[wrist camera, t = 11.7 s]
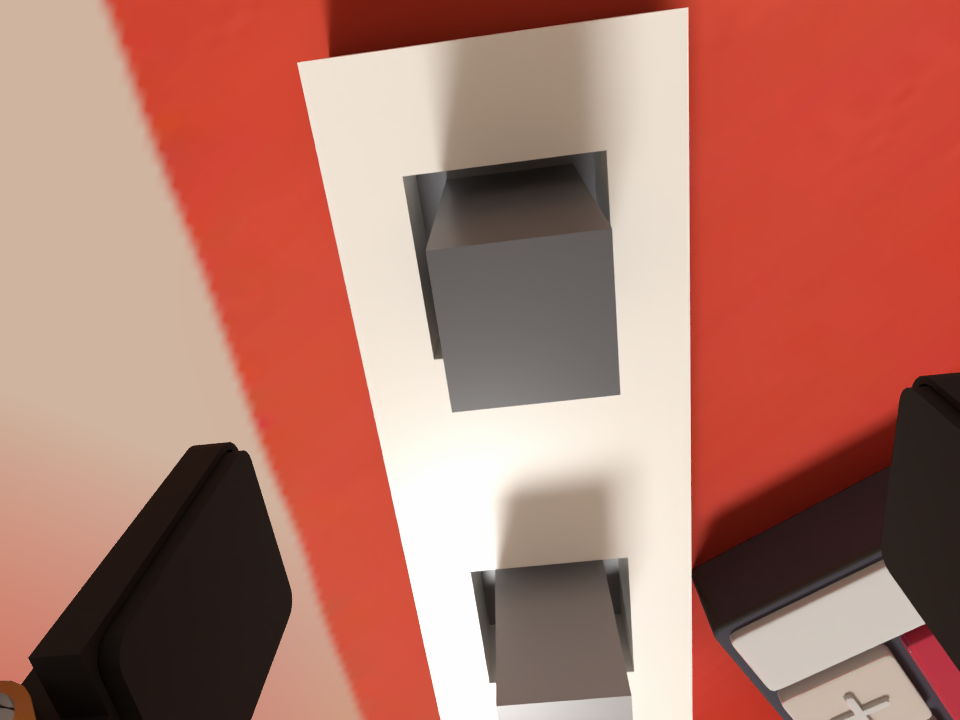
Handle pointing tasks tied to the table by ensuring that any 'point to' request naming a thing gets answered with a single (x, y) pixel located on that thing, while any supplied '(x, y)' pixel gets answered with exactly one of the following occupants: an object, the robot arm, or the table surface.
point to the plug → (524, 290)
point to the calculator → (828, 617)
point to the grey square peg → (558, 645)
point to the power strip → (544, 426)
